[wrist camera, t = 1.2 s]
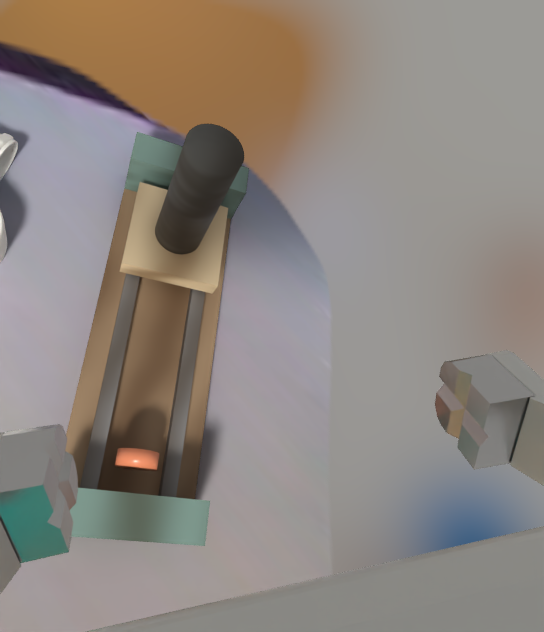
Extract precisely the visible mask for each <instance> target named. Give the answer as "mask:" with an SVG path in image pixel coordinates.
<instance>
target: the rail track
mask: <svg viewBox="0 0 544 632" xmlns="http://www.w3.org/2000/svg"><path fill="white" fill-rule="evenodd" d="M182 148H183V147H182V146H179V145H176V144H173V143H170V142H167V141H164V140H161V139H158V138H154V137H151V136H148V135H145V134H142V133H139V132H137V134H136V139H135V143H134V147H133V151H132V156H131V160H130V165H129V169H128V174H127V179H126V184H125V188H124V193H123V197H122V201H121V205H120V210H119V214H118V218H117V222H116V226H115V231H114V235H113V239H112V243H111V248H110V252H109V256H108V260H107V264H106V269H105V273H104V277H103V281H102V286H101V290H100V294H99V298H98V303H97V307H96V311H95V315H94V319H93V324H92V328H91V332H90V336H89V341H88V345H87V349H86V353H85V358H84V362H83V366H82V370H81V374H80V379H79V383H78V387H77V391H76V396H75V400H74V404H73V408H72V413H71V417H70V421H69V425H68V429H67V434H66V437H67V444H66V449H65V451H66V452H68V453H69V454H71V455H73V458H74V461H75V465H76V470H77V477H78V493H77V501H76V504H75V505H74V506H73V507H72V508H71V509H70V513H71V516H72V519H73V528H72V535H71V536H73V537H87V538H101V539H115V540H129V541H143V542H157V543H171V544H185V545H199V546H205V540H206V531H207V523H208V514H209V506H210V501H206V500H196V499H195V494H196V486H197V478H198V470H199V463H200V455H201V447H202V439H203V432H204V424H205V416H206V408H207V400H208V393H209V385H210V377H211V369H212V361H213V354H214V346H215V338H216V330H217V322H218V315H219V307H220V299H221V291H222V283H223V276H224V268H225V260H226V252H227V244H228V237H229V229H230V221H231V218H232V216H233V214H234V213H235V211H236V209H237V208H238V206H239V204H240V203H241V201H242V199H243V197H244V196H245V194H246V189H247V180H248V172H249V168H247V167H244V166H241V167H240V169H239V171H238V173H237V175H236V177H235V179H234V181H233V183H232V184H231V186H230V188H229V190H228V192H227V194H226V196H225V198H224V200H223V201H222V203H221V205H220V206H224V207H227V208H228V214H227V221H226V229H225V236H224V244H223V251H222V259H221V267H220V274H219V282H218V287H217V288H216V289H215V291H214V292H213V294H212V293H208V292H203V291H199V290H195V289H191V288H186V287H182V286H178V285H174V284H169V283H165V282H161V281H157V280H153V279H148V278H144V277H140V276H136V275H131V274H127V273H123V272H120V267H121V263H122V258H123V254H124V249H125V245H126V240H127V236H128V231H129V227H130V223H131V218H132V214H133V209H134V205H135V200H136V196H137V191H138V187H139V183H140V182H142V183H145V184H149V185H152V186H156V187H159V188H162V189H166V190H168V188H169V185H170V183H171V180H172V177H173V174H174V171H175V168H176V165H177V162H178V159H179V156H180V154H181V151H182ZM119 448H137V449H145V450H151V451H155V452H158V453H159V460H158V466H157V470H156V471H144V470H133V469H126V468H120V467H116V466H115V461H116V456H117V451H118V449H119Z"/></svg>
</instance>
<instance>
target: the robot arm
mask: <svg viewBox="0 0 544 632" xmlns="http://www.w3.org/2000/svg"><path fill="white" fill-rule="evenodd" d="M439 377H440V378H441V379H442V381H443V382H444V384H443V386H442V387H441V388H440V389H439V390H438V391H437V393H436V401H435V406H436V412H437V417H438V419H439V421H440V423H441V425H442V427H443V428H444V430H445V431H446V432H447V433H448V434H450V435H452V436H454V437H456V438H458V439H459V440H458V449H459V450H460V451H461V453H462V454H463V455H464V457H465V458H466V459H467V461H468V462H469V463H470V465H471V466H472V467H473V469H480V468H486V467H492V466H498V465H503V464H509V463H511V464H510V465H511V466H512V467H514V468H516V469H518V470H519V471H521V472H522V473H524V474H525V475H527V476H529V477H530V478H532V479H533V480H535V481H537V482H538V483H540V484H541V485H543V486H544V379H542V378H541V377H540V376H539V375H538V374H537V373H536V372H535V371H533V370H532V369H531V368H530V367H528V365H527V364H525V363H524V362H523V361H522V360H521V359H520V358H519V357H518V356H516V355H515V354H514V353H513V352H510V351H507V350H506V351H500V352H494V353H489V354H486V355H481V356H475V357H470V358H463V359H457V360H452V361H445V362H444V363H443V365H442V367H441V371H440V376H439ZM66 444H67V437H66V434H65V431H64V429H63V426H61V425H60V424H57V425H50V426H43V427H36V428H28V429H21V430H14V431H7V432H6V433H5V432H3V433H0V594H1V593H2V591H3V590H4V589H5V587H6V586H7V584H8V583H9V582H10V580H11V579H12V578H13V576H14V575H15V574H16V572H17V571H18V570H19V568H20V567H21V564H20V563H24V562H29V561H33V560H37V559H41V558H46V557H50V556H54V555H59V554H63V553H67V552H69V548H70V541H71V535H72V528H73V519H72V516H71V513H70V509H71V508H72V507H73V506H74V505H75V504H76V501H77V493H78V477H77V470H76V465H75V461H74V458H73V455H71V454H69V453H68V452H66V451H65V449H66ZM87 632H544V526H543V527H539V528H534V529H530V530H525V531H521V532H516V533H512V534H508V535H503V536H499V537H495V538H490V539H486V540H482V541H478V542H473V543H469V544H464V545H460V546H456V547H452V548H447V549H443V550H438V551H435V552H430V553H426V554H421V555H417V556H413V557H408V558H404V559H400V560H396V561H391V562H386V563H382V564H378V565H373V566H370V567H365V568H361V569H356V570H352V571H347V572H344V573H339V574H334V575H330V576H326V577H321V578H317V579H313V580H308V581H304V582H300V583H295V584H291V585H286V586H282V587H278V588H273V589H269V590H265V591H260V592H256V593H252V594H247V595H243V596H239V597H234V598H230V599H226V600H221V601H217V602H213V603H208V604H204V605H200V606H195V607H191V608H187V609H182V610H178V611H174V612H169V613H165V614H161V615H156V616H152V617H147V618H143V619H139V620H134V621H130V622H126V623H121V624H117V625H113V626H108V627H104V628H100V629H95V630H91V631H87Z"/></svg>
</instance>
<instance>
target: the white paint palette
mask: <svg viewBox="0 0 544 632" xmlns="http://www.w3.org/2000/svg"><path fill="white" fill-rule="evenodd" d="M17 149H18V142H17V141H15V140H13V137H12V136H10V135H8V134H6V133H3V134H0V180H1V179H2V177H3V176H4V175H5V173H6V172H7V170H8V169H9V167H10V165H11V164H12V162H13V160H14V157H15V155H16V153H17ZM6 250H7V236H6V230H5V224H4V219H3V215H2V212H1V210H0V263H1V262H2V260H3V258H4V256H5V254H6Z"/></svg>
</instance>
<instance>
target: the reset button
mask: <svg viewBox="0 0 544 632" xmlns="http://www.w3.org/2000/svg"><path fill="white" fill-rule="evenodd" d="M158 460H159V453H158V452H155V451H151V450H145V449H137V448H119V449H118V451H117V456H116V461H115V466H116V467H120V468H126V469H133V470H144V471H156V470H157V466H158Z"/></svg>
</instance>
